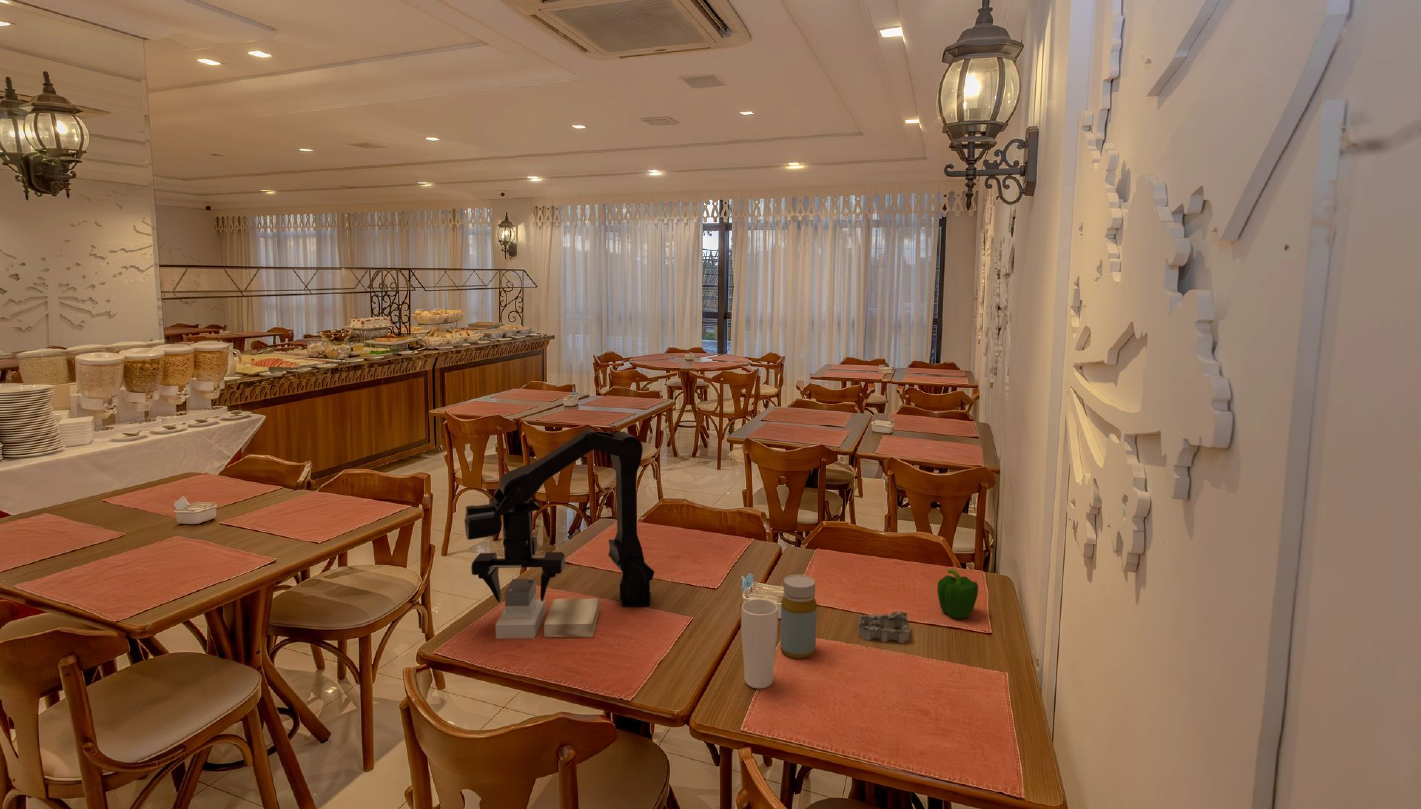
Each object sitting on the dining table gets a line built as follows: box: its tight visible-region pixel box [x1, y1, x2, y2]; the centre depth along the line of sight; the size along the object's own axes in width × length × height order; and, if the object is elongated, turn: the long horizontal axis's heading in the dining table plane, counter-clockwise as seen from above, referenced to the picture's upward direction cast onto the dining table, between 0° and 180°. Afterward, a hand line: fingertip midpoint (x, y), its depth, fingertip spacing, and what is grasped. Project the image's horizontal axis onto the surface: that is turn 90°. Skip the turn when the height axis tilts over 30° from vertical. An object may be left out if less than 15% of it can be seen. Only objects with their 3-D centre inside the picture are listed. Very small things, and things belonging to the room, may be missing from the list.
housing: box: [504, 577, 537, 620], centre depth 155 cm, size 5×7×6 cm
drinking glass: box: [740, 598, 779, 689], centre depth 133 cm, size 7×7×15 cm
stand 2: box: [543, 597, 600, 639], centre depth 156 cm, size 10×12×3 cm
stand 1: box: [495, 598, 547, 640], centre depth 156 cm, size 8×12×3 cm, turn 2°
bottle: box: [780, 574, 818, 660], centre depth 144 cm, size 7×7×15 cm
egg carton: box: [857, 611, 911, 644], centre depth 152 cm, size 11×8×4 cm
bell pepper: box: [937, 568, 979, 620], centre depth 160 cm, size 8×8×10 cm
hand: (521, 600), depth 155 cm, fingers open, 9 cm apart
